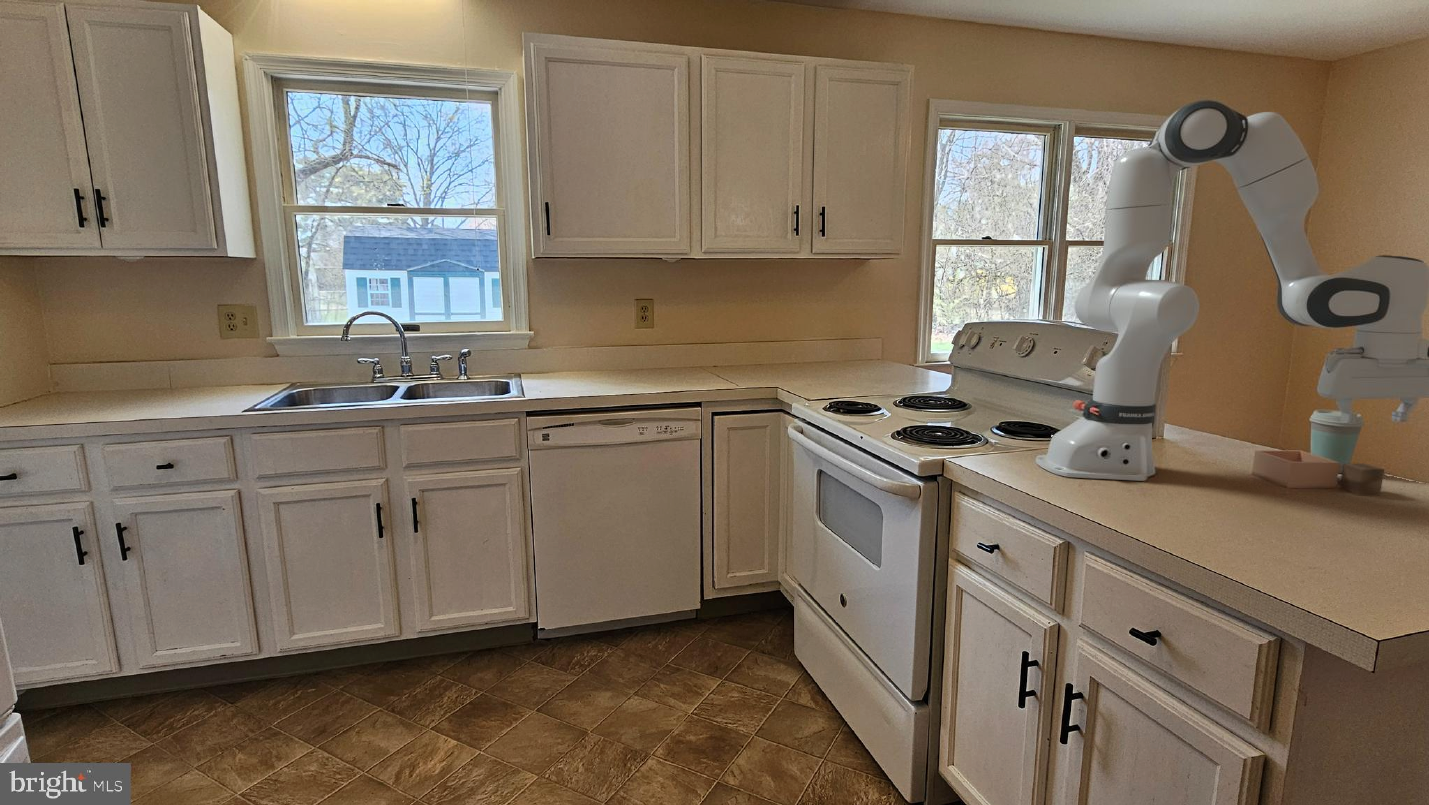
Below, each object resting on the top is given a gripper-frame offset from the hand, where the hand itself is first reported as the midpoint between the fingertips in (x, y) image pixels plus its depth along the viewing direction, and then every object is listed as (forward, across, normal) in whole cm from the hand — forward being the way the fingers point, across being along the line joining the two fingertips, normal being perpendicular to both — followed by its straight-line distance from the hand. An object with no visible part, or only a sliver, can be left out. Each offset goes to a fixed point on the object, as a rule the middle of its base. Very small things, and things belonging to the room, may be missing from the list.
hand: (1373, 422), depth 131 cm
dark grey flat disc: (+14, +4, +5) cm, 15 cm away
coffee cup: (+14, +6, +15) cm, 21 cm away
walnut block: (+14, 0, 0) cm, 14 cm away
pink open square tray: (+13, -8, +7) cm, 17 cm away
